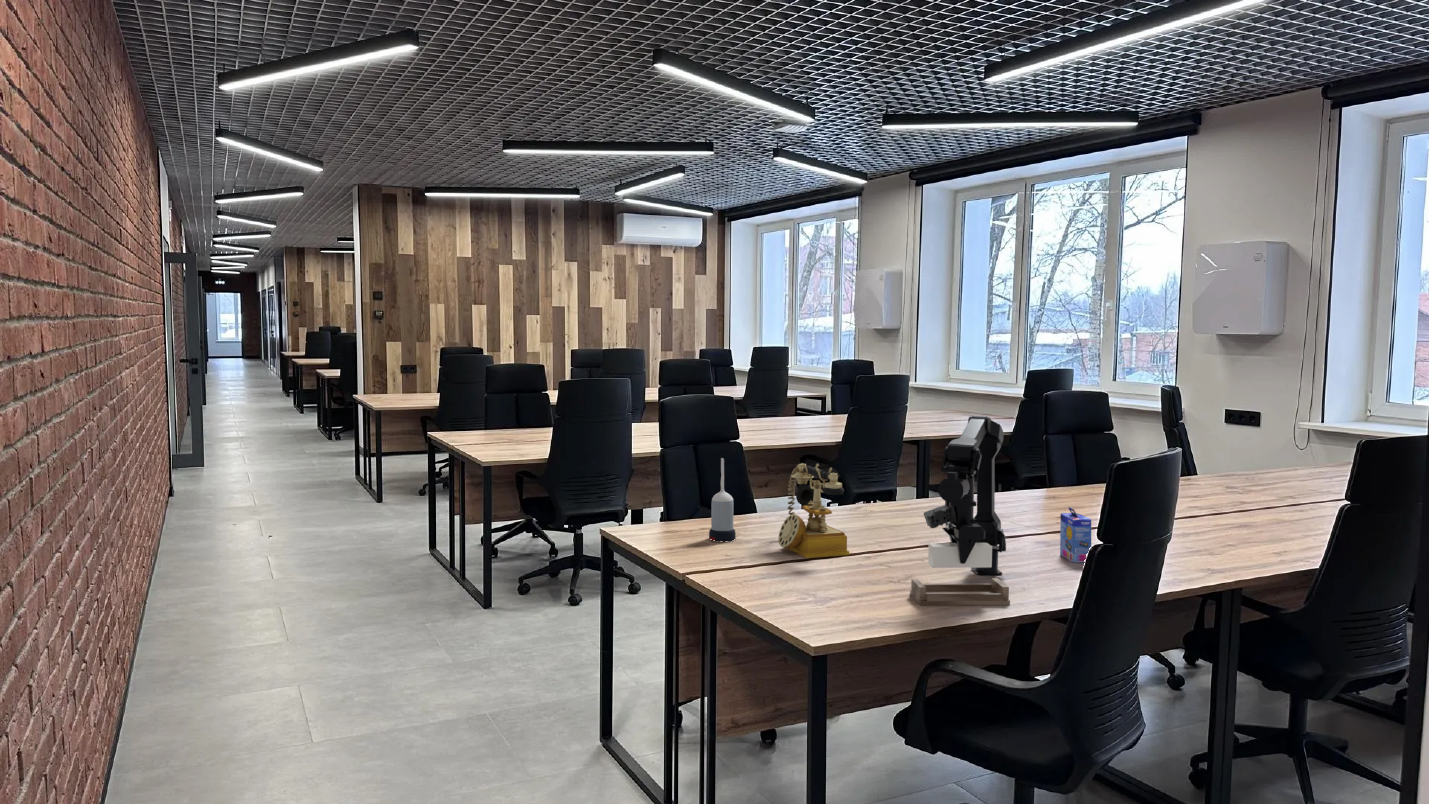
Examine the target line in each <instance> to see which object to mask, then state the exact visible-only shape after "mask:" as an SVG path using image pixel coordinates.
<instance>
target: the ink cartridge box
mask: <svg viewBox="0 0 1429 804" xmlns="http://www.w3.org/2000/svg"><path fill="white" fill-rule="evenodd" d="M1067 508H1068V510H1069V512H1065V513H1064V512H1061V513H1060V515H1059V516H1060V528H1059V529H1060V530H1059V533H1060V535H1059V536H1060V537H1059V538H1060V539H1059V545H1060V546H1059V549H1060V550H1059V553H1060V554H1059V555H1060V556H1062V557H1063V558H1065V559H1067V560H1068V561H1070V562H1071V563H1075V564H1076V563H1085V562H1084V560H1085V559H1086V554H1087V553H1088V551H1089V548H1090V547H1091V548H1092V519H1091V518H1089V517H1086V516H1085V515H1083V514H1081V513H1078V512H1076V511H1075V509H1074V508H1071V507H1069V506H1068V507H1067Z"/></svg>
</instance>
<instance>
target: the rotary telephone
mask: <svg viewBox="0 0 1429 804" xmlns="http://www.w3.org/2000/svg"><path fill="white" fill-rule="evenodd" d="M819 466H820V464H819V463H816V464H815V466H814V467H813V466H811V465H807V464H806V463H803V462H801V463H798V464H797V465H796V467H794V468H793V470H792V472H791V474H790V477H789V481H788V482H789V484H788V485H787V486H788V488H787V491H789V492H788V493H787V495H788V496H789V497H787V500H790V501H788V502H787V504H788V507H787V510H789V511H788V515H789V516H787V517H786V518H785V519H784V521H783V523H782V525H781V527H780V530H779V533H778V544H779V545H778V546H780V547H781V548H784V549H787V550H790V551H791V552H794V553H795V554H797V555H800V556H802V557H803V558H806V559H810V558H811V559H813V558H814V559H816V558H826V557H827V558H829V557H840V556H850V551H849V550H848V536H847V535H846V534H845V532H843V531H841V530H838V529H836V528H834V527H831V526H830V525H828V523H827V522H826V516H828V515H831V514H832V513H833V511H832V510H831V509H829V508H827V507H825V505H823V504H822V498H821V497H822V496H821V493H823V494H824V495H825V494H826V495H829V496H838V495H843V494H844V493H845V489H844V487H843V482H839V481H838V479H839V476H838V473H836V472H832V470H833V468H832V467H830V468H829V469H828V471H826V470H823V469H821V468H818V467H819ZM814 477H816V478H819V479H816V480H815V479H814V480H813V478H814ZM808 481H809V484H808ZM821 481H822V482H821ZM826 481H827V482H826ZM797 484H798V489H797V492H796V493H795V488H796V485H797ZM790 495H791V496H790ZM795 500H796V501H797V503H798V504H799V505H801V506H802V507H801V509H802V510H804V511H805V512H807V513H808V515H807V516H808V518H807V523H806V524H805V522H804V520H803V519H802V517H800V516H799V515H797V514H796V513H795V511H793V510H794V509H795V507H793V506H794V505H795V504H796V502H794V501H795ZM792 511H793V512H792Z"/></svg>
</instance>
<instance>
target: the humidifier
mask: <svg viewBox="0 0 1429 804" xmlns="http://www.w3.org/2000/svg"><path fill="white" fill-rule="evenodd" d="M720 473H721V477H720V491H719V492H717V493H716V494H714V495H713V497H712V498H711V511H710V512H711V513H710V514H711V516H710V517H711V523H710V525H711V527H710V529H709V532H708V540H709V539H712V540H715V541H723V542H722V543H726V542H725V541H732V540H734V539H735V540H736V539H737V536H736V534H737V533H736V529H734V498H733V496H732V495H731V494H729V493H728V492H726V491H725V462H724V458H723V457H721V458H720ZM732 542H733V541H732Z"/></svg>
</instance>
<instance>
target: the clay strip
mask: <svg viewBox="0 0 1429 804" xmlns="http://www.w3.org/2000/svg"><path fill="white" fill-rule="evenodd" d="M927 557H928V559H927V560H928V562H927V563H928V565H929V566H930V567H931V568H932V569H945V568H946V569H948V568H949V569H953V568H955V569H956V568H963V569H965V568H967V569H968V568H969V569H971V568H977V567H992V546H991V545H989V544H988V543H976V544H975V545H974V547H973V549H972V551H971V553H970V555H969V557H968V559H967V561H966V563H965V564H961V563H960V559H959V552H958V544H957V543H951V542H928V556H927Z"/></svg>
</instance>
